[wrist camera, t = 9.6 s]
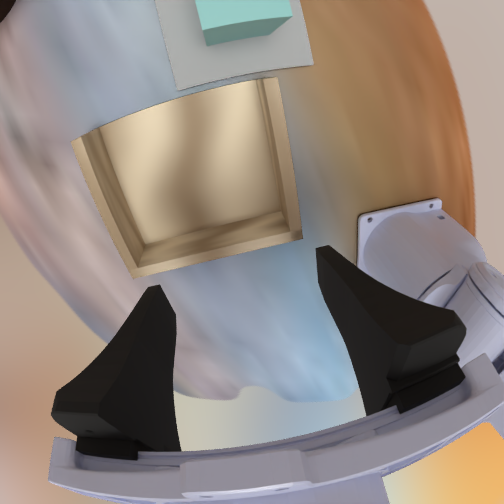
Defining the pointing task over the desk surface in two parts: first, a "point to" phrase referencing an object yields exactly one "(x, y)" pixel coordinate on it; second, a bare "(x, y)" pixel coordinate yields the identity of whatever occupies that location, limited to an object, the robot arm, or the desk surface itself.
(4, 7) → the coffee mug
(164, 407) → the robot arm
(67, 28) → the desk surface
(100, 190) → the tan shallow tray
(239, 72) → the pad
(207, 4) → the block
